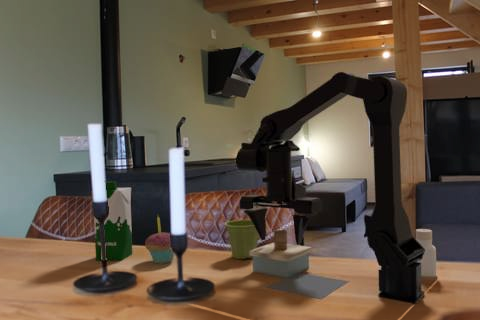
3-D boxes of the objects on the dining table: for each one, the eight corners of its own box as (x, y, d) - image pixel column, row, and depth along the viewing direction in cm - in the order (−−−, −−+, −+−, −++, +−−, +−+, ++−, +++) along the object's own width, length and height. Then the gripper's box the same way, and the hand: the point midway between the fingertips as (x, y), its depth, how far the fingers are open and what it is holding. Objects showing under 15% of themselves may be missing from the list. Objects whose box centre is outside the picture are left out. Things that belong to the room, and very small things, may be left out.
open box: (309, 269, 98) (308, 251, 98) (288, 279, 91) (287, 260, 91) (275, 263, 104) (274, 246, 104) (253, 273, 97) (252, 255, 97)
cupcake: (173, 265, 105) (171, 216, 104) (139, 265, 106) (138, 216, 106) (183, 256, 113) (182, 210, 113) (152, 256, 115) (150, 210, 114)
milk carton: (91, 261, 111) (87, 183, 111) (106, 252, 120) (103, 180, 120) (123, 261, 110) (120, 182, 109) (137, 252, 119) (134, 179, 118)
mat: (348, 283, 88) (348, 281, 88) (321, 301, 78) (321, 299, 78) (296, 273, 95) (296, 272, 95) (265, 289, 86) (265, 287, 86)
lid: (311, 251, 98) (311, 229, 98) (288, 261, 90) (287, 237, 90) (274, 246, 104) (273, 225, 104) (249, 255, 97) (248, 232, 96)
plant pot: (218, 259, 110) (217, 224, 109) (236, 250, 118) (235, 218, 118) (252, 262, 105) (251, 227, 105) (268, 253, 114) (267, 220, 113)
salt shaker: (437, 278, 89) (436, 232, 89) (416, 278, 90) (415, 232, 89) (432, 273, 93) (431, 228, 93) (412, 272, 94) (411, 228, 93)
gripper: (333, 170, 97) (335, 239, 98) (264, 169, 109) (266, 231, 109) (309, 173, 89) (311, 250, 89) (236, 172, 100) (239, 240, 101)
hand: (280, 242), depth 97 cm, fingers open, 9 cm apart
